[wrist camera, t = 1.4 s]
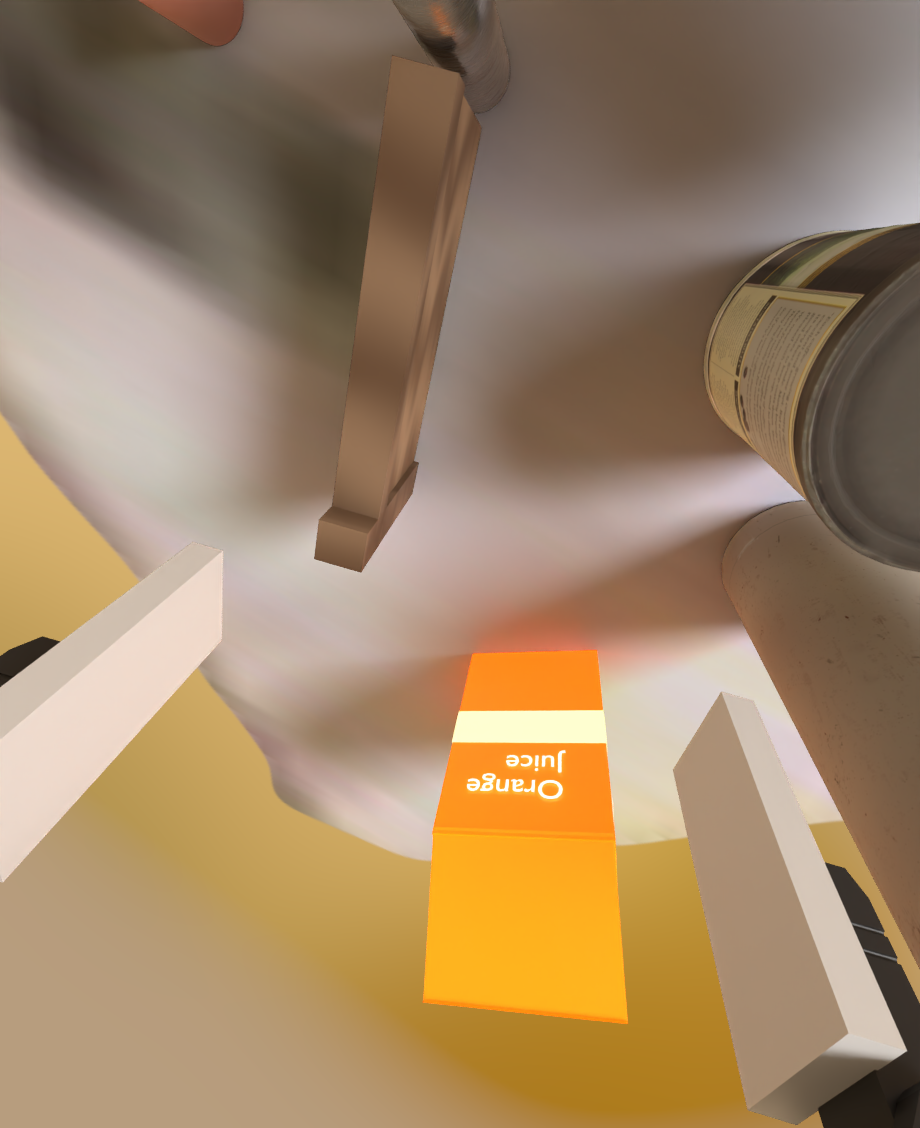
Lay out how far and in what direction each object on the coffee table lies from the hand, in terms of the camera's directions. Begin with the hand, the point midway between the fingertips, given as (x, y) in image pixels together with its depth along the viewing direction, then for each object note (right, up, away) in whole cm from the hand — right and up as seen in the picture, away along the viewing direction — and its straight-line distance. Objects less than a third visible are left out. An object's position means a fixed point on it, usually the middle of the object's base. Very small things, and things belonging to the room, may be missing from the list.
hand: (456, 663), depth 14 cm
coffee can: (+18, +13, +14) cm, 26 cm away
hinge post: (+1, +24, +11) cm, 27 cm away
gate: (-2, +15, +16) cm, 22 cm away
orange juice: (+6, -7, +27) cm, 29 cm away
